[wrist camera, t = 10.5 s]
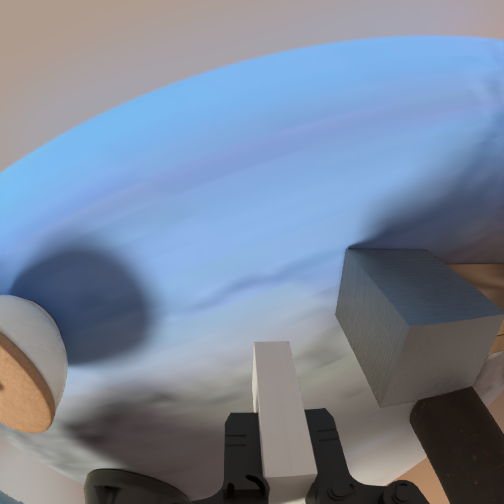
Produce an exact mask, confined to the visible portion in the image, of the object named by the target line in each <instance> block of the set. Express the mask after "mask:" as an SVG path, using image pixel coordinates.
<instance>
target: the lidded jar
mask: <svg viewBox="0 0 504 504" xmlns="http://www.w3.org/2000/svg"><path fill="white" fill-rule="evenodd" d="M67 373H68V361H67V354H66V349H65V346H64V343H63V340H62V338H61V333H60V331H59V328H58V326H57V324H56V322H55V321H54V319H53V318H52V317H51V315H50V314H49V313H48V312H47V311H46V310H45V309H44V308H43V307H41V306H40V305H38V304H37V303H35V302H33V301H31V300H28V299H23V298H20V297H17V296H13V295H0V422H2V423H4V424H6V425H8V426H9V427H12V428H14V429H17V430H19V431H23V432H27V433H40V432H44V431H45V430H47V429H48V428H49V427H50V426H51V424H52V422H53V419H54V416H55V411H56V409H57V407H58V405H59V403H60V400H61V398H62V395H63V392H64V389H65V385H66V380H67Z"/></svg>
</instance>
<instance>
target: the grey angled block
mask: <svg viewBox="0 0 504 504" xmlns="http://www.w3.org/2000/svg"><path fill="white" fill-rule="evenodd" d="M335 315H336V317H337V319H338V321H339V323H340V325H341V327H342V329H343V331H344V333H345V335H346V337H347V339H348V341H349V343H350V345H351V347H352V349H353V351H354V353H355V356H356V358H357V360H358V362H359V364H360V366H361V368H362V370H363V372H364V374H365V376H366V378H367V381H368V383H369V385H370V387H371V389H372V391H373V393H374V395H375V398H376V400H377V402H378V404H379V406H380V407H385V406H391V405H396V404H401V403H406V402H411V401H415V400H420V399H424V398H429V397H433V396H437V395H441V394H445V393H449V392H453V391H456V390H460V389H463V388H467V387H470V386H473V384H474V383H475V381H476V379H477V377H478V375H479V373H480V371H481V369H482V367H483V365H484V363H485V361H486V359H487V357H488V355H489V352H490V350H491V348H492V346H493V344H494V341H495V339H496V337H497V334H498V332H499V330H500V327H501V325H502V322H503V320H504V312H503V311H502V310H501V309H500V308H499V307H498V306H497V305H495V304H494V303H493V302H492V301H491V300H490V299H488V298H487V297H486V296H485V295H484V294H482V293H481V292H480V291H479V290H478V289H476V288H475V287H474V286H473V285H471V284H470V283H469V282H468V281H466V280H465V279H464V278H463V277H461V276H460V275H459V274H458V273H456V272H455V271H454V270H453V269H451V268H450V267H449V266H447V265H446V264H445V263H443V262H442V261H441V260H440V259H438V258H437V257H436V256H434V255H433V254H432V253H430V252H429V251H428V250H381V249H346V251H345V258H344V265H343V272H342V278H341V285H340V291H339V297H338V302H337V308H336V314H335Z"/></svg>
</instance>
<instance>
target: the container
mask: <svg viewBox="0 0 504 504" xmlns="http://www.w3.org/2000/svg"><path fill="white" fill-rule="evenodd" d="M410 423H411V425H412V427H413V430H414V432H415V434H416V435H417V437H418V439H419V441H420V443H421V445H422V447H423V449H424V451H425V453H426V455H427V457H428V459H429V460H430V463H431V465H432V467H433V469H434V470H435V473H436V474H437V476H438V478H439V480H440V483H441V485H442V487H443V489H444V491H445V493H446V496H447V498H448V500H449V502H450V504H504V434H503V432H502V431H501V429H500V428H499V426H498V424H497V423H496V422H495V420H494V418H493V417H492V415H491V414H490V412H489V411H488V409H487V408H486V406H485V405H484V403H483V402H482V400H481V399H480V397H479V396H478V394H477V393H476V391H475V390H474V389H473V387H472V386H470V387H467V388H463V389H460V390H456V391H453V392H449V393H445V394H441V395H437V396H433V397H429V398H424V399H420V400H419V401H418V402H417V404H416V405H415V407H414V408H413V410H412V413H411V416H410Z"/></svg>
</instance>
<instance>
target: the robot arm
mask: <svg viewBox="0 0 504 504" xmlns="http://www.w3.org/2000/svg"><path fill="white" fill-rule="evenodd" d="M252 391H253V407H254V413H230V415H229V417H228V419H227V421H226V422H225V454H224V483H223V486H222V488H221V489H220V490H219V492H218V493H216V494H215V495H213V496H212V497H209V498H206V499H202V500H198V501H193V502H188V499H187V497H186V496H185V495H184V494H183V493H181V492H180V491H178V490H177V489H175V488H173V487H171V486H169V485H167V484H165V483H162V482H160V481H157V480H154V479H151V478H148V477H145V476H141V475H138V474H133V473H129V472H124V471H117V470H96V471H92V472H90V473H89V474H88V475H87V478H86V481H85V485H84V497H85V504H304V503H305V502H306V504H429V502H428V501H427V500H426V498H425V497H424V495H423V494H422V493H421V491H420V490H419V488H418V487H417V486H416V485H415V484H414V483H412V482H410V481H407V480H398V481H395V482H392V483H391V484H389V485H388V486H373V485H365V484H362V483H360V482H358V481H356V480H355V479H354V478H353V477H352V476H351V475H350V473H349V470H348V467H347V464H346V460H345V457H344V453H343V449H342V446H341V442H340V440H339V435H338V432H337V430H336V425H335V422H334V418H333V417H332V416H331V414H330V413H329V412H328V411H327V410H326V409H325V408H322V409H310V410H304V407H303V402H302V398H301V393H300V388H299V384H298V379H297V375H296V370H295V366H294V361H293V357H292V352H291V348H290V343H289V341H287V342H254V358H253V380H252ZM0 504H24V503H22V502H20V501H17V500H15V499H13V498H12V497H10V496H8V495H7V494H5V493H3V492H2V491H0Z"/></svg>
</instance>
